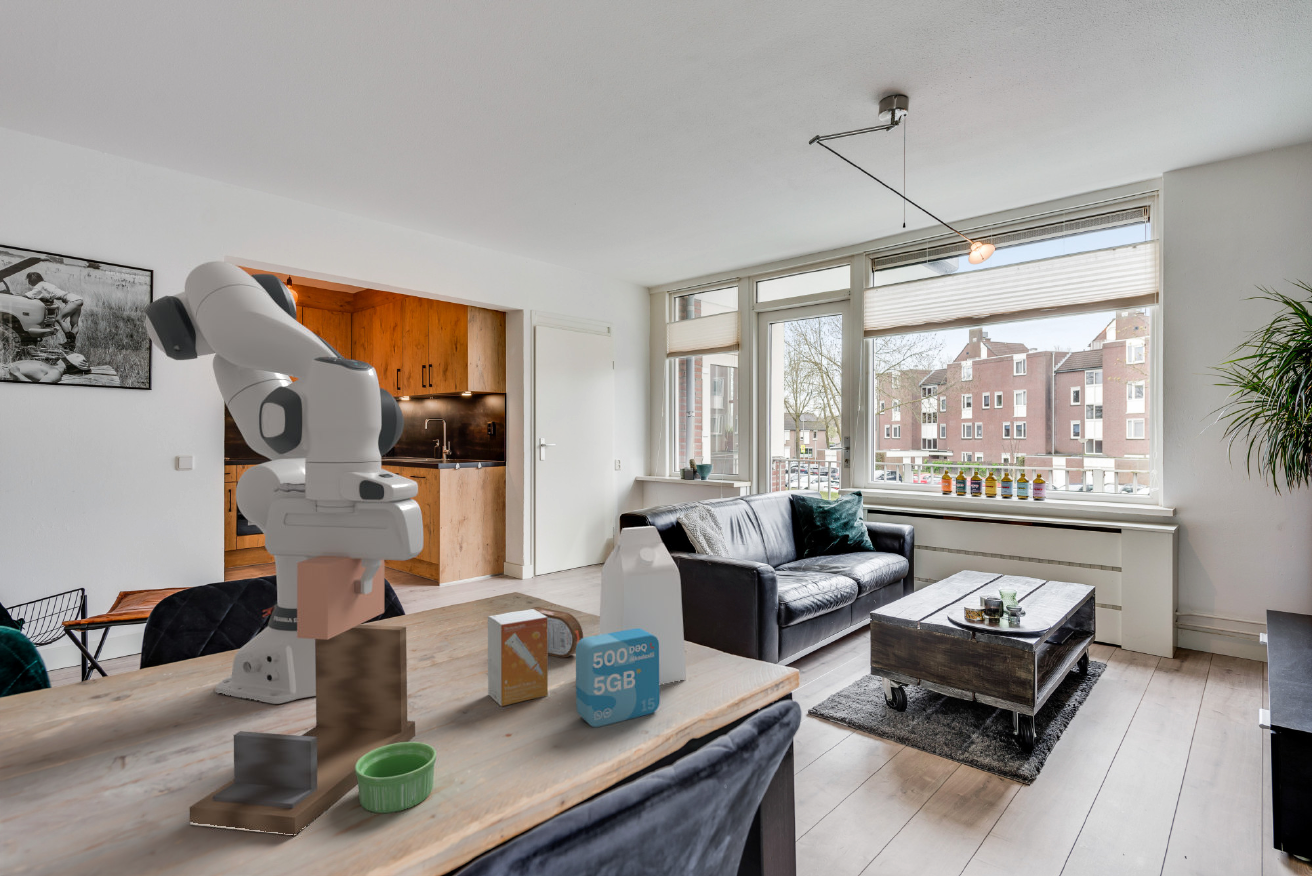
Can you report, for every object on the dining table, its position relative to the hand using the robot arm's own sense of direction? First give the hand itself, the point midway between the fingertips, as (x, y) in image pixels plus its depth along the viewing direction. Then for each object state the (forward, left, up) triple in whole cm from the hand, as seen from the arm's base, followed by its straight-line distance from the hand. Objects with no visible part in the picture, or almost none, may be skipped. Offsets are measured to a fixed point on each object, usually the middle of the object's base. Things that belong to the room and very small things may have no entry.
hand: (343, 592), depth 85 cm
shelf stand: (-3, -1, -23) cm, 23 cm away
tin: (+11, +47, -23) cm, 53 cm away
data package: (+31, +21, -23) cm, 44 cm away
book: (0, 0, -4) cm, 4 cm away
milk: (+31, +38, -23) cm, 54 cm away
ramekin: (+10, -5, -23) cm, 25 cm away
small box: (+13, +26, -23) cm, 37 cm away
